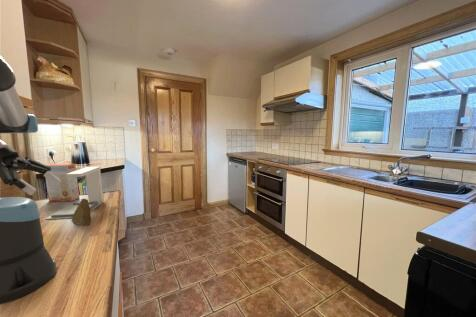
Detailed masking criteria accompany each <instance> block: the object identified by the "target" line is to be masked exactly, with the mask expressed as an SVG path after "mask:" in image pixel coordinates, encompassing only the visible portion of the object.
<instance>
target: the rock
mask: <svg viewBox="0 0 476 317" xmlns="http://www.w3.org/2000/svg"><path fill="white" fill-rule="evenodd" d="M79 202H80V203H79V204H78V207H77V209H76V210H75V212H74V214H73V216H72V218H71V220H70V221H71V222H72V223H73V224H74V225H75V224H76V225H81V226H88V225H89V226H90V224H91V223H92V221H91V220H92V217H91V211H90V207H89V203H88V202H89V199H87V198H81V199H80V201H79Z"/></svg>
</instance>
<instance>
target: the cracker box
mask: <svg viewBox="0 0 476 317" xmlns="http://www.w3.org/2000/svg"><path fill="white" fill-rule="evenodd" d="M45 165H46V166H48V167H50V168H51V170H50V172H51V173H52V174H53V175H55V176H56V177H57V178H59V179H60V180H61V181H60V182H59V183H58V184H57V185H55V184H54V183H52V182H51V181H50V180H48V179H47V178H46V177H45V184H46V190H47V196H48V201H49V202H74V201H76V200H78V199H80V191H79V190H80V189H79V183H78V177H66V174H68V173H71V172H74V171H77V168H76V163H49V164H45Z"/></svg>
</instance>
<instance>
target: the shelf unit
mask: <svg viewBox="0 0 476 317" xmlns="http://www.w3.org/2000/svg"><path fill="white" fill-rule="evenodd" d="M101 169H102V168H101V166H86V167H82V168H80V169H78V170H77V169H76V171H74V172H71V173H68V174H66V177H77V178H81V177H85V181H86V182H85V183H86V190H87V198H88V199H87V200H88V203H89V207H90V212H91V211H93V210H94V209H96V208H97V207H98V206H100V205H101V204H102V203H104V201H105V200H104V192H103V182H102V173H101V172H102V171H101ZM80 202H81V201H79V202H77V201H76V202H72V203H70V204H69V205H67V206H65V207H63V208H62V209H59V210H57V211H56V212H54V213H52V214H51V215H49V216H47V217H46V218H44V221H48V220H64V219H68V220H69V219H72V216H73V214H74V212H75V210H76V209H77V207H78V204H79V203H80Z"/></svg>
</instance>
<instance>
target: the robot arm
mask: <svg viewBox="0 0 476 317" xmlns="http://www.w3.org/2000/svg"><path fill="white" fill-rule="evenodd" d="M16 80H17V79H16V75H15V74H14V71H13V69H12V67H11V66H10V65H9V64H8V62H7V61H6V60H5V59H4V58H3V57H2V56H1V55H0V134H31V133H32V134H33V133H37V132H38V131H39V125H38V119H37V116H36V115H35V114H30V113H27V112H26V109H25V107H24V105H23V102H22V100H21V98H20V96H19V94H18V91H17V89H16V87H15V85H16V82H17V81H16ZM46 165H47V164H44V163H41V162H39V161H36V160H35V159H32V158H31V157H29V156H25V157H23V158H22V157H20V156H19V152H18V151H17V150H15V149H14V148H12V146H10V145H9V144H8V143H6V142H5V141H3V140H2V139H0V179H1V181H2V183H3V184H4V185H6V186H7V185H9V186H16V187H17V188H18V189H20V190H22V191H23V192H25V193H26V194H27V195H29V196H33V194H34V193H36V191H37V188H35V187H34V186H33V185H31V184H30V183H28V182H26V180H24V179H22V178H20V179H19V174H18V171H21V170H25V171H26V170H27V171H30V172H31V171H32V172H35V173H39V174H42V175H43V177H46V178H47V179H48V180H50V181H51V182H52V183H54V184H55V185H57V184H58V183H59V182H60V181H61V180H60V179H59V178H57V177H56V176H55V175H53V174H52V173H51V172H50V170H51V168H50V167H48V166H46ZM46 178H45V179H46ZM40 218H41V213H40V211H39V208H38V204H37V202H36V201H35V200H34V199H32V198H29V197H24V196H22V197H21V196H8V197H7V196H5V197H4V196H3V197H0V305H2V304H5V303H9V302H12V301H15V300H17V299H19V298H22V297H23V296H27V295H28V294H30V293H33V292H34V291H36V290H38V289H39V288H41V287H42V286H44V285H45V284H46V283H47V282H49V281H50V280H51V279H52V278H53V277H54V276H55V275H56V272H57V265H56V260H55V259H54V258H53V257H52V256H51V254H50V252H48V250H47V248H46V247H45V242H44V236H43V231H42V230H43V229H42V224H41V219H40Z"/></svg>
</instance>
